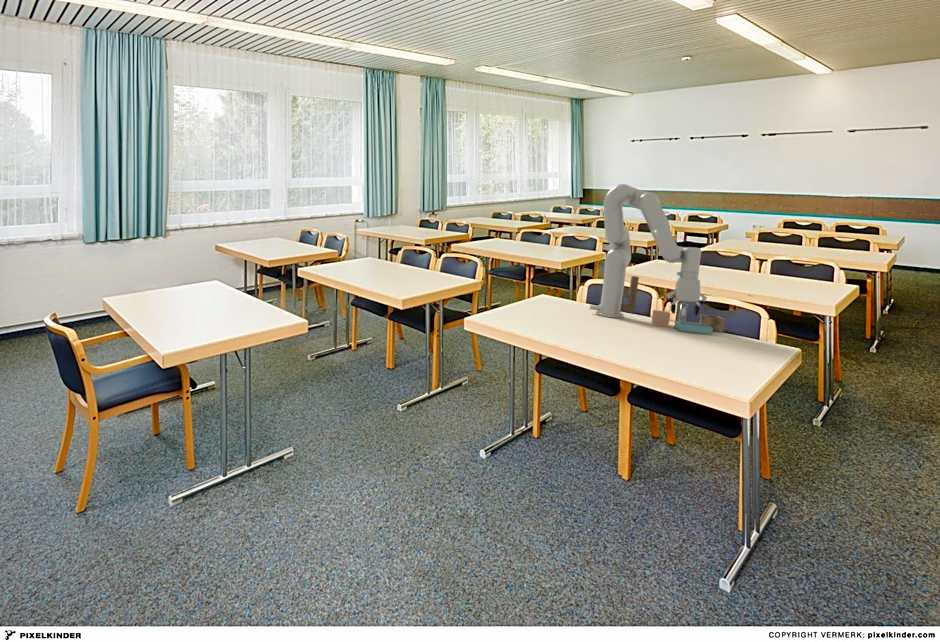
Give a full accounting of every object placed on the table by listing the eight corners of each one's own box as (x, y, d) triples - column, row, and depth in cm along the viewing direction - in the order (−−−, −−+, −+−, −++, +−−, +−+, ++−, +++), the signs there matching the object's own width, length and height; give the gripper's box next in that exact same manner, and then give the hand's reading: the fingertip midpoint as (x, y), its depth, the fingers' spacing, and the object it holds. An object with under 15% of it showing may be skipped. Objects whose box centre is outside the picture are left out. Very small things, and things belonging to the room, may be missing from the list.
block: (654, 325, 256) (656, 312, 254) (651, 323, 261) (653, 310, 260) (668, 327, 255) (670, 313, 254) (665, 324, 261) (666, 311, 260)
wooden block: (615, 309, 297) (620, 274, 294) (635, 312, 291) (640, 276, 287) (612, 309, 294) (617, 274, 291) (632, 313, 288) (637, 277, 285)
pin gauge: (678, 326, 259) (681, 304, 257) (676, 325, 262) (679, 303, 260) (685, 327, 259) (688, 304, 257) (683, 325, 262) (686, 304, 260)
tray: (680, 331, 245) (681, 324, 245) (674, 327, 255) (675, 320, 254) (711, 335, 244) (712, 327, 244) (704, 330, 254) (705, 323, 253)
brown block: (704, 330, 253) (706, 317, 252) (698, 327, 261) (700, 314, 260) (722, 332, 252) (725, 319, 251) (716, 329, 260) (719, 316, 259)
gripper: (671, 274, 253) (666, 313, 256) (712, 277, 252) (706, 316, 255) (666, 273, 261) (662, 311, 264) (706, 276, 259) (701, 314, 262)
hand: (684, 314), depth 259 cm, fingers open, 9 cm apart
